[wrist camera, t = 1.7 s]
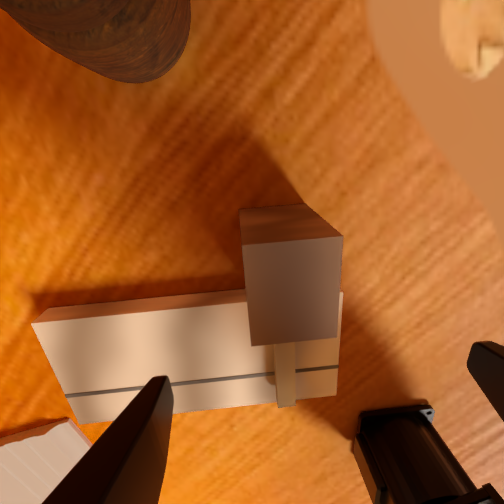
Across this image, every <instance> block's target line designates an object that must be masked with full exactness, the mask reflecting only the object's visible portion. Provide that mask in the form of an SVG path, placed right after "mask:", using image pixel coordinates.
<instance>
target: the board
mask: <svg viewBox="0 0 504 504" xmlns="http://www.w3.org/2000/svg"><path fill="white" fill-rule="evenodd" d="M342 304H343V291H342V290H341V288H340V297H339V313H338V329H337V338H328V339H318V340H309V341H300V342H295V387H296V400H300V399H308V398H317V397H326V396H335V395H336V393H337V378H338V367H339V365H338V363H339V349H340V334H341V319H342ZM31 325H32V327H33V329H34V331H35V333H36V335H37V337H38V339H39V341H40V343H41V345H42V348H43V350H44V352H45V354H46V356H47V358H48V360H49V362H50V364H51V366H52V368H53V370H54V372H55V375H56V377H57V379H58V381H59V383H60V385H61V387H62V389H63V391H64V393H65V397H66V398H67V399H68V402H69V404H70V406H71V408H72V410H73V412H74V414H75V416H76V418H77V420H78V422H79V424H87V423H96V422H105V421H114V420H115V419H116V418H117V417H118V416H119V414H120V413H121V412H122V411H123V410H124V409H125V408H126V406H127V405H128V404H129V403H130V402H131V401H132V400H133V398H134V397H135V396H136V395H137V394H138V393H139V392H140V391H141V389H142V388H143V387H144V386H145V385H146V384H147V383H148V381H149V380H150V379H151V378H152V377H154V376H161V375H167V376H168V377H169V380H170V384H171V387H172V391H173V395H174V406H173V414H176V413H185V412H193V411H202V410H211V409H220V408H229V407H238V406H247V405H255V404H264V403H273V402H277V398H276V387H275V369H274V350H273V344H271V345H262V346H252V347H251V339H250V328H249V318H248V308H247V297H246V289H237V290H227V291H217V292H207V293H196V294H186V295H176V296H166V297H156V298H146V299H136V300H125V301H115V302H105V303H95V304H85V305H75V306H64V307H54V308H48V309H46V310H45V311H44V312H43V313H42V314H41V315H40V316H39V317H38V318H36V319H35V320H34V321H33V322H32V323H31Z"/></svg>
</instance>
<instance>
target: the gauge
mask: <svg viewBox="0 0 504 504" xmlns="http://www.w3.org/2000/svg"><path fill="white" fill-rule="evenodd" d="M239 221H240V233H241V245H242V255H243V266H244V276H245V287H246V297H247V308H248V318H249V328H250V339H251V347H252V346H262V345H271V344H273V350H274V369H275V387H276V398H277V404H278V408H282V407H291V406H296V387H295V342H300V341H309V340H318V339H328V338H337V329H338V313H339V297H340V281H341V265H342V249H343V235H341V234H340V233H339V232H338V231H337V230H336V229H334V228H333V227H332V226H331V225H330V224H329V223H327V222H326V221H325V220H324V219H323V218H322V217H320V216H319V215H318V214H317V213H316V212H315V211H313V210H312V209H311V208H310V207H309V206H308V205H306V204H305V203H304V204H293V205H281V206H270V207H259V208H248V209H239Z"/></svg>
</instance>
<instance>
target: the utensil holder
mask: <svg viewBox="0 0 504 504" xmlns="http://www.w3.org/2000/svg"><path fill="white" fill-rule="evenodd" d="M0 8H1V9H3V10H4V11H6V12H7V13H8V14H9V15H10V16H11V17H12V18H13V19H14V20H15V21H16V22H18V23H19V24H20V25H21V26H22V27H23V28H24V29H25V30H26V31H28V32H29V33H30V34H31V35H32V36H34V37H35V38H36V39H38V40H39V41H41V42H42V43H43V44H45V45H46V46H48V47H50V48H51V49H53V50H54V51H56V52H58V53H59V54H61V55H63V56H65V57H67V58H68V59H70V60H72V61H74V62H76V63H78V64H80V65H82V66H84V67H86V68H88V69H90V70H92V71H94V72H96V73H98V74H100V75H103V76H105V77H108V78H110V79H113V80H117V81H121V82H127V83H143V82H148V81H152V80H154V79H157V78H159V77H161V76H162V75H164V74H165V73H166V72H168V71H169V70H170V69H171V68H172V67H173V66H174V65H175V63H176V62H177V61H178V59H179V58H180V56H181V54H182V52H183V50H184V48H185V45H186V42H187V39H188V35H189V29H190V19H191V11H190V0H0Z"/></svg>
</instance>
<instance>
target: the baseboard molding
mask: <svg viewBox="0 0 504 504" xmlns="http://www.w3.org/2000/svg"><path fill="white" fill-rule="evenodd" d="M92 445H93V444H92V443H91V442H90V441H89V440H88V438H87V437H86V436H85V435H84V434H83V433H82V432H81V430H80V429H79V428H78V427H77V426H76V425H75V423H74V422H73V421H72V420H71V419H70V418H68V419H65V420H61V421H58V422H54V423H51V424H47V425H44V426H40V427H37V428H33V429H30V430H26V431H23V432H19V433H16V434H12V435H9V436H5V437H2V438H0V504H41V503H42V502H43V501H44V500H45V499H46V498H47V497H48V495H49V494H50V493H51V492H52V491H53V490H54V489H55V487H56V486H57V485H58V484H59V483H60V482H61V481H62V479H63V478H64V477H65V476H66V475H67V474H68V473H69V471H70V470H71V469H72V468H73V467H74V466H75V465H76V463H77V462H78V461H79V460H80V459H81V458H82V457H83V456H84V454H85V453H86V452H87V451H88V450H89V449H90V448H91V446H92Z"/></svg>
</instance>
